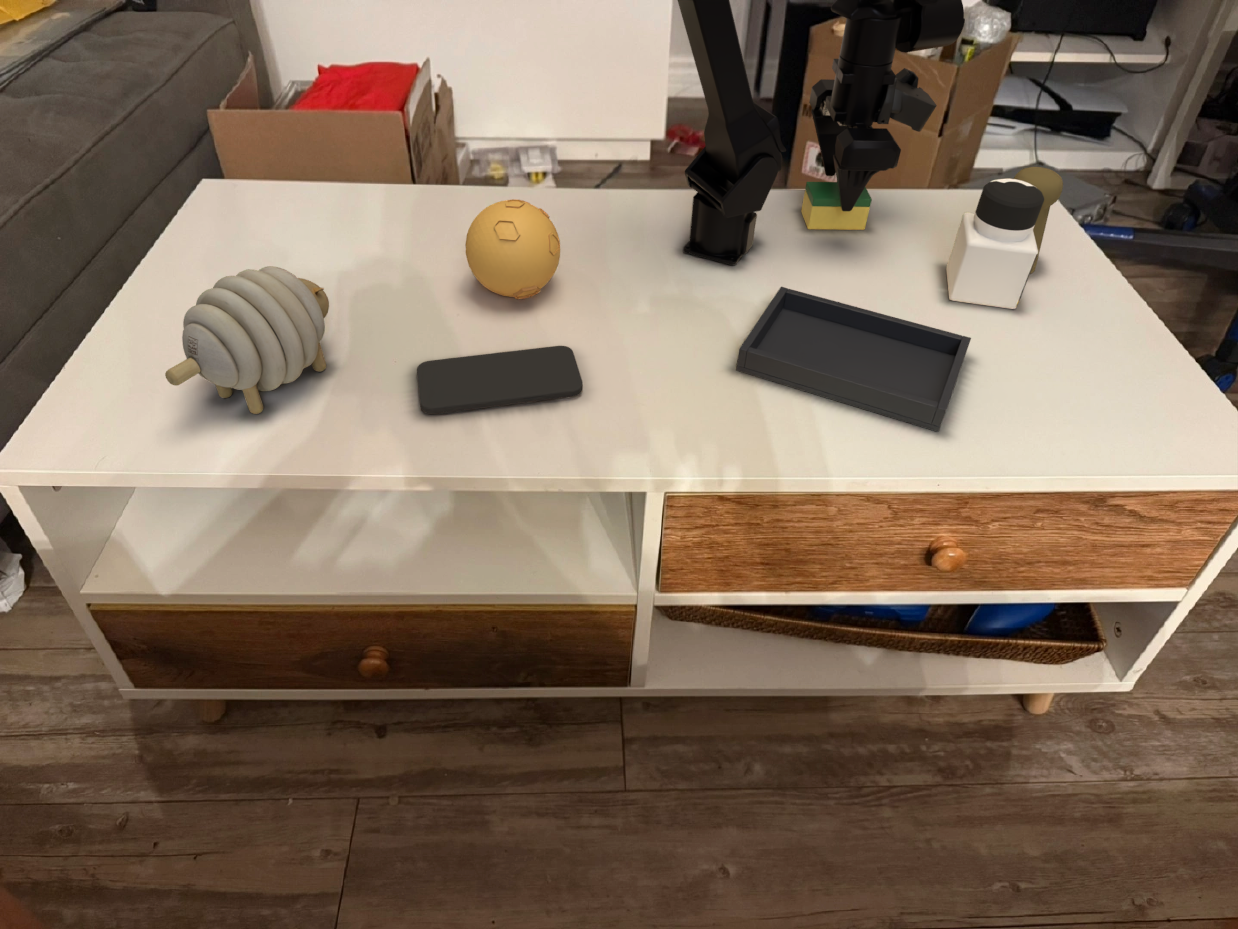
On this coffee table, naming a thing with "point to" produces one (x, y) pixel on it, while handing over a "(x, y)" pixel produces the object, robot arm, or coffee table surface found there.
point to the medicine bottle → (996, 245)
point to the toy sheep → (253, 333)
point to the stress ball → (513, 248)
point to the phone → (498, 379)
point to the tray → (855, 357)
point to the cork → (1051, 191)
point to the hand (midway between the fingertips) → (837, 192)
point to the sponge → (832, 208)
